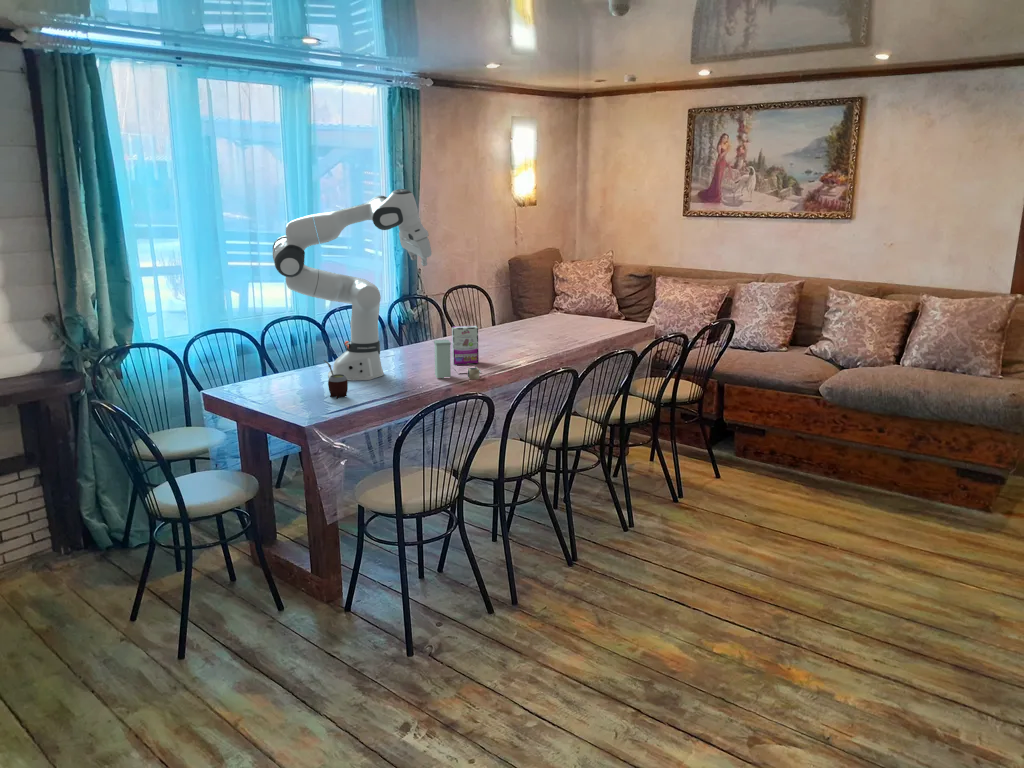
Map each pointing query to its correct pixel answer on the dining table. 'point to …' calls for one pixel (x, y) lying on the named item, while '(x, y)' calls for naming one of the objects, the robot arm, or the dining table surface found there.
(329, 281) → the robot arm
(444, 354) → the tea tin
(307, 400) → the dining table surface
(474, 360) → the candy bar box
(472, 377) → the letter cube
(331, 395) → the mate gourd
